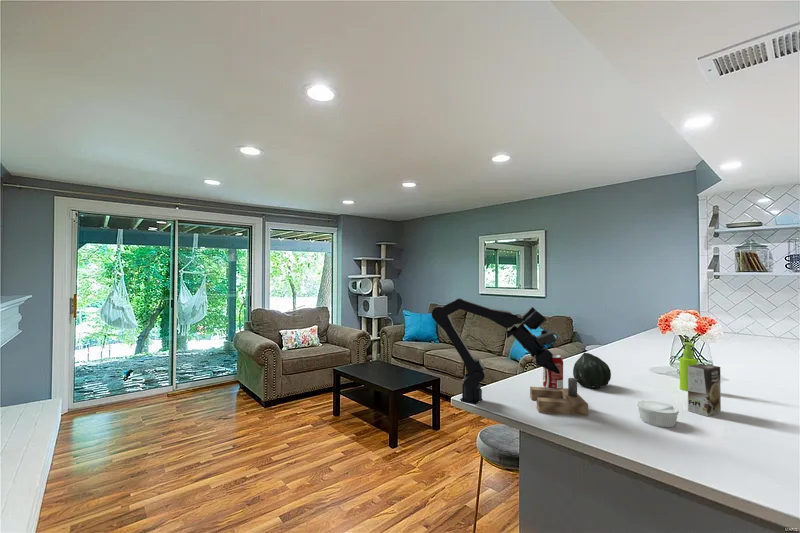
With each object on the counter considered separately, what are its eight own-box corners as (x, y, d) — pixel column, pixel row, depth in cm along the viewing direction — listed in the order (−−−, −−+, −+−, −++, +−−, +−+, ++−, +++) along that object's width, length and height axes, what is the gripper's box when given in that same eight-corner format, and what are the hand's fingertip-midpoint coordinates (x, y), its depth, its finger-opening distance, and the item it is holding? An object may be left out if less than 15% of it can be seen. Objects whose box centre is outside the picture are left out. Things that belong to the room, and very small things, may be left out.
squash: (624, 375, 159) (599, 345, 167) (606, 382, 150) (581, 350, 159) (599, 391, 168) (577, 362, 176) (581, 399, 159) (559, 367, 167)
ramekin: (680, 432, 115) (680, 415, 115) (637, 424, 121) (637, 408, 121) (676, 420, 125) (676, 404, 125) (637, 413, 131) (637, 398, 131)
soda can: (567, 390, 135) (567, 356, 135) (551, 392, 132) (552, 357, 133) (554, 385, 141) (554, 353, 141) (539, 386, 139) (539, 354, 139)
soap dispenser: (683, 391, 155) (682, 343, 156) (678, 387, 162) (677, 340, 162) (700, 393, 153) (700, 344, 154) (694, 388, 160) (694, 341, 160)
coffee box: (708, 417, 128) (708, 369, 128) (687, 410, 133) (686, 365, 134) (721, 412, 132) (721, 366, 132) (700, 406, 138) (700, 362, 138)
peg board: (539, 412, 131) (539, 383, 131) (530, 396, 148) (530, 371, 148) (587, 415, 128) (587, 386, 128) (573, 399, 145) (573, 373, 145)
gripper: (546, 327, 129) (580, 361, 126) (538, 320, 147) (568, 350, 145) (522, 348, 130) (555, 383, 128) (517, 339, 149) (546, 369, 146)
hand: (557, 370), depth 137 cm, fingers closed on soda can, 6 cm apart
